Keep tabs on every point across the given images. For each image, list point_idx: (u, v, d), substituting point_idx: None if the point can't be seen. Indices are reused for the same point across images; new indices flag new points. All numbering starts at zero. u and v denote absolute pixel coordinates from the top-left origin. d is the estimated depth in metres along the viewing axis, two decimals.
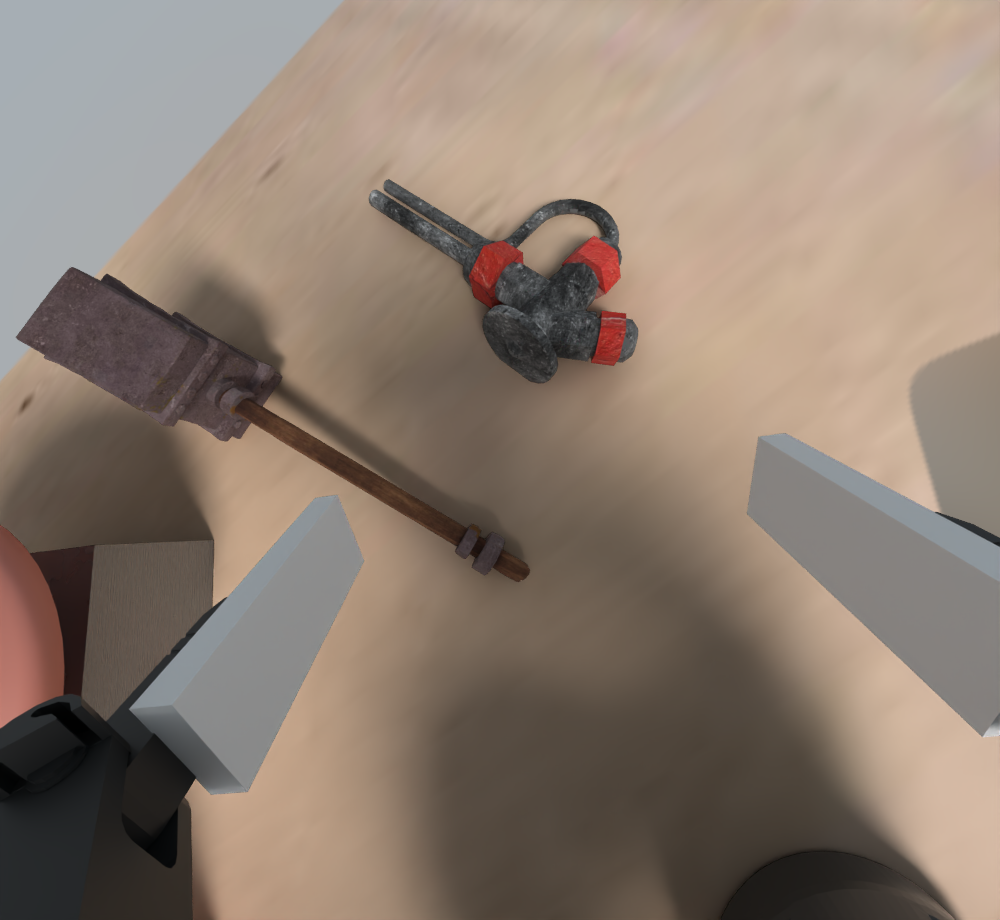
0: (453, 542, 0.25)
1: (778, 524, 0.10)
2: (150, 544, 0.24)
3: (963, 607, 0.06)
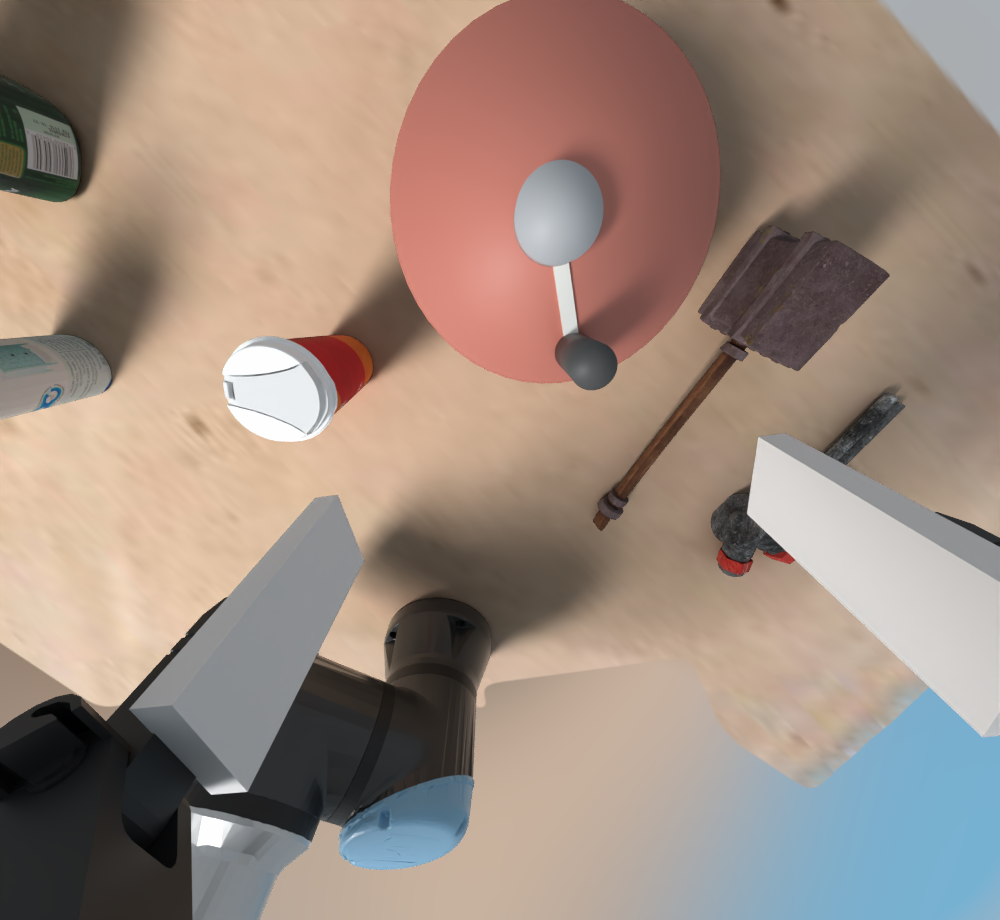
0: (618, 492, 0.43)
1: (778, 524, 0.10)
2: None
3: (963, 607, 0.06)
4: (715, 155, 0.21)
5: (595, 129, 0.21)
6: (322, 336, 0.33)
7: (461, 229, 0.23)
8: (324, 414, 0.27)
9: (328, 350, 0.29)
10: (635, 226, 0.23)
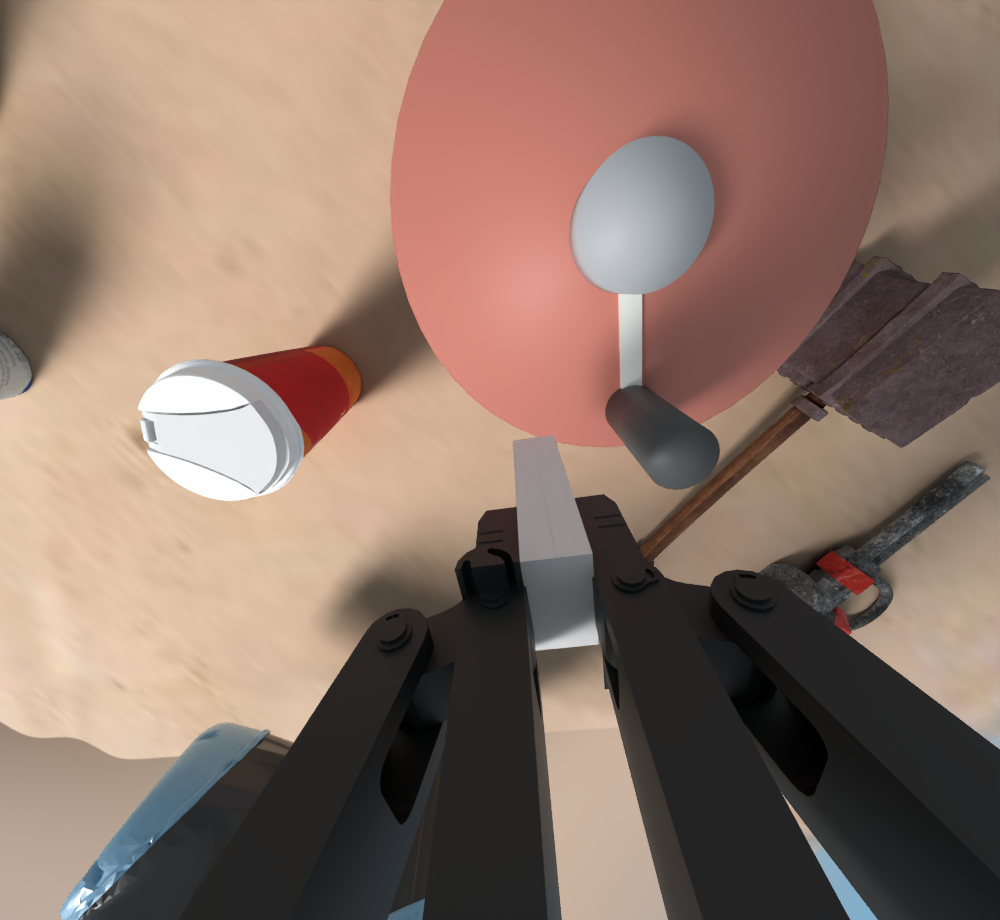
0: (643, 554, 0.36)
1: None
2: None
3: None
4: (879, 150, 0.14)
5: (709, 95, 0.14)
6: (295, 351, 0.25)
7: (492, 230, 0.16)
8: (284, 469, 0.20)
9: (298, 375, 0.22)
10: (743, 245, 0.16)
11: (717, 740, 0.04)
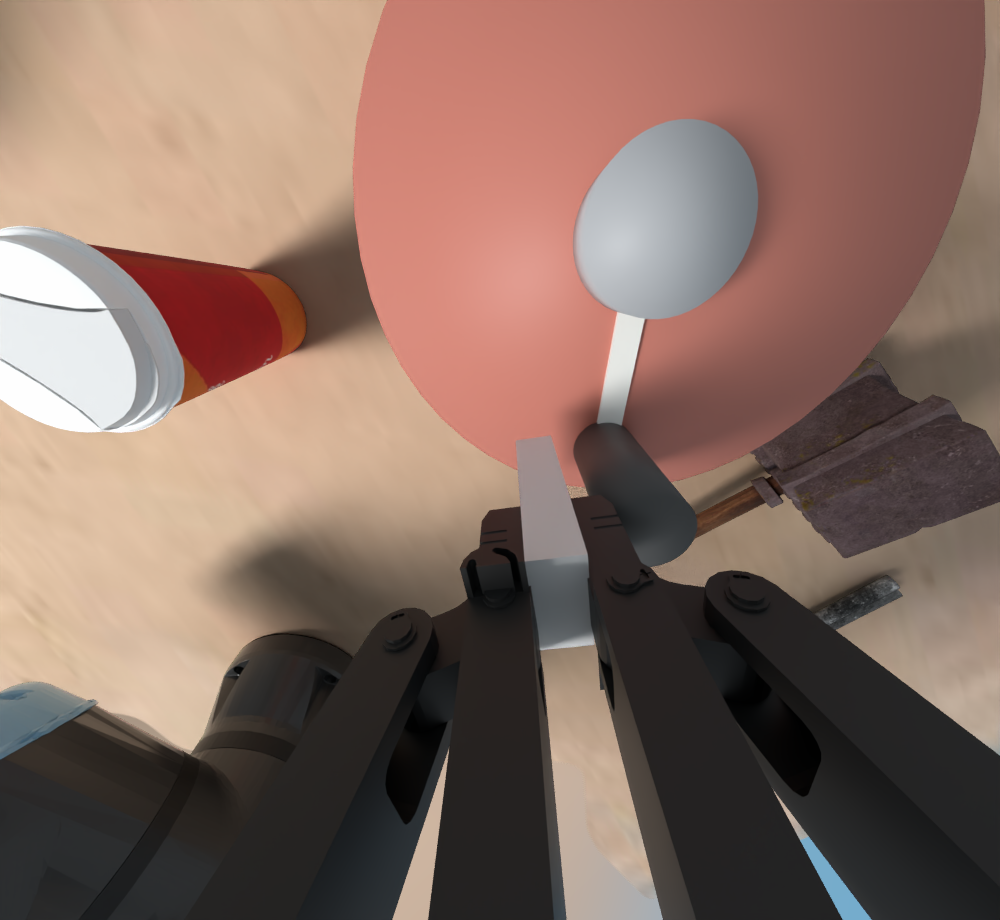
0: None
1: None
2: None
3: None
4: (942, 218, 0.12)
5: (776, 95, 0.11)
6: (222, 267, 0.20)
7: (482, 194, 0.12)
8: (147, 407, 0.15)
9: (208, 295, 0.17)
10: (770, 291, 0.13)
11: (711, 740, 0.04)
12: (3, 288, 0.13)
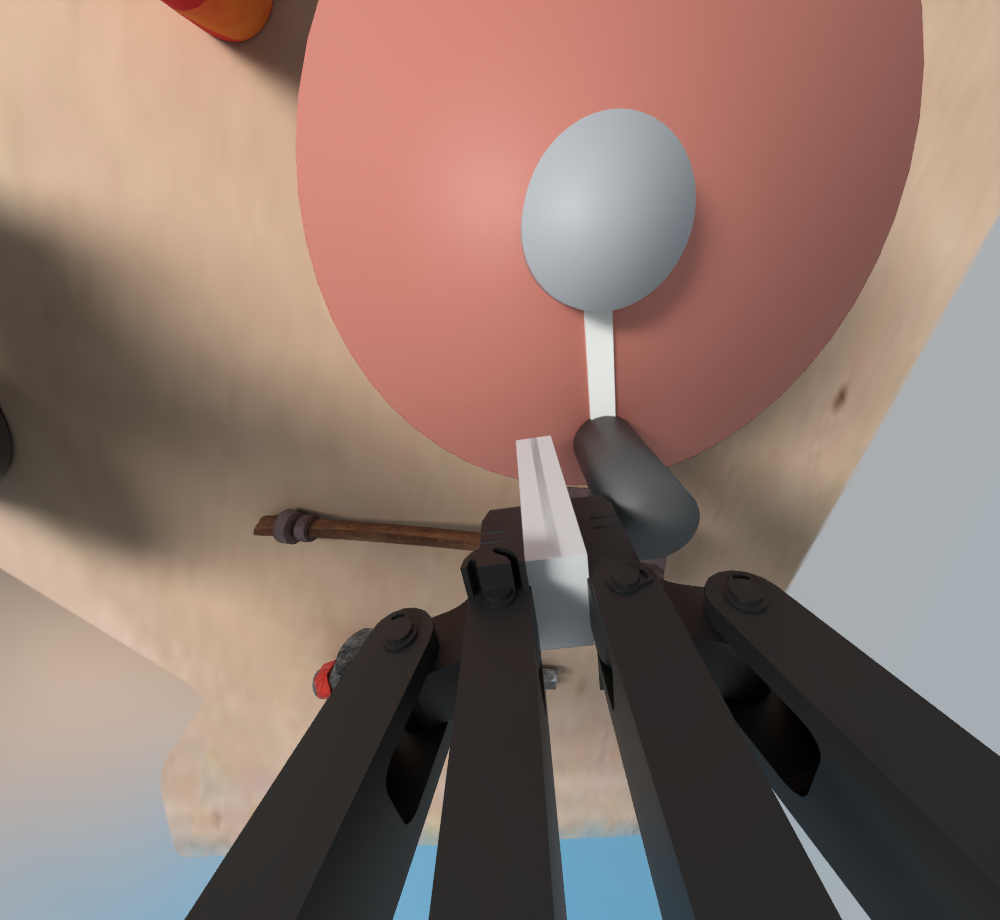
0: (313, 526, 0.31)
1: None
2: None
3: None
4: (909, 128, 0.11)
5: (691, 57, 0.11)
6: None
7: (426, 231, 0.13)
8: None
9: None
10: (737, 249, 0.13)
11: (710, 740, 0.04)
12: None
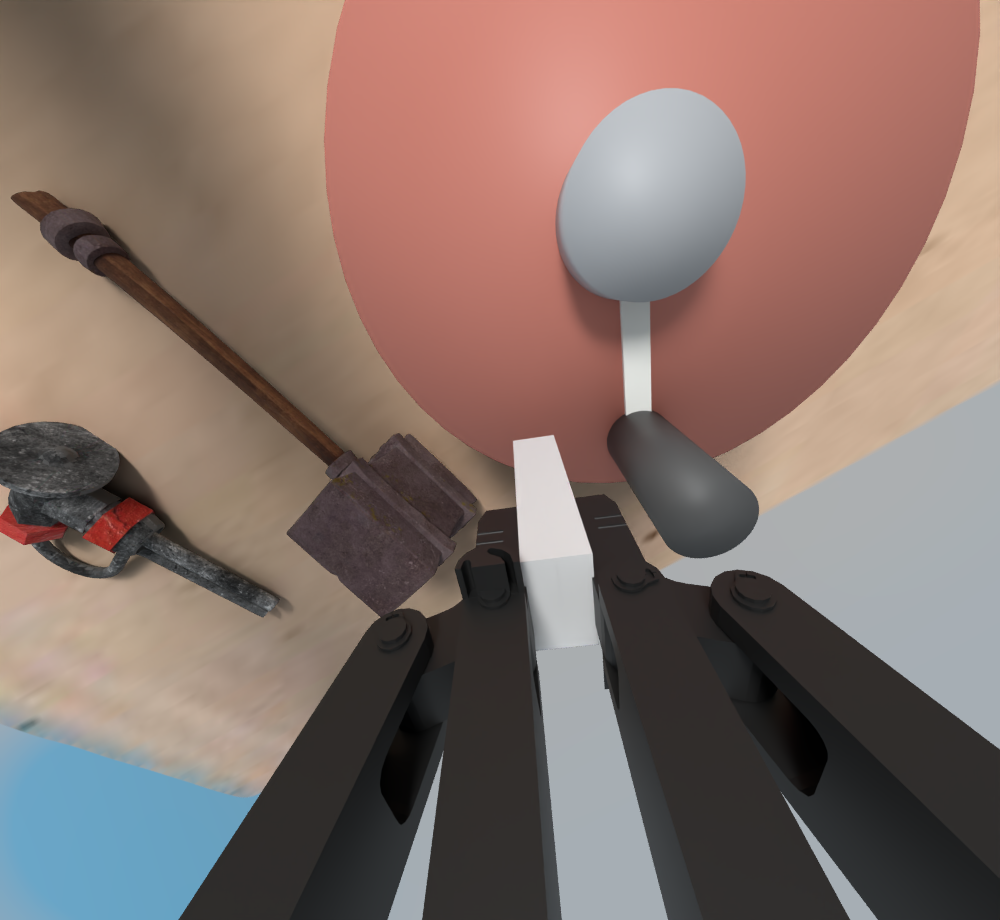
0: (111, 258, 0.22)
1: None
2: None
3: None
4: (963, 101, 0.11)
5: (736, 34, 0.10)
6: None
7: (458, 225, 0.12)
8: None
9: None
10: (780, 234, 0.12)
11: (717, 740, 0.04)
12: None
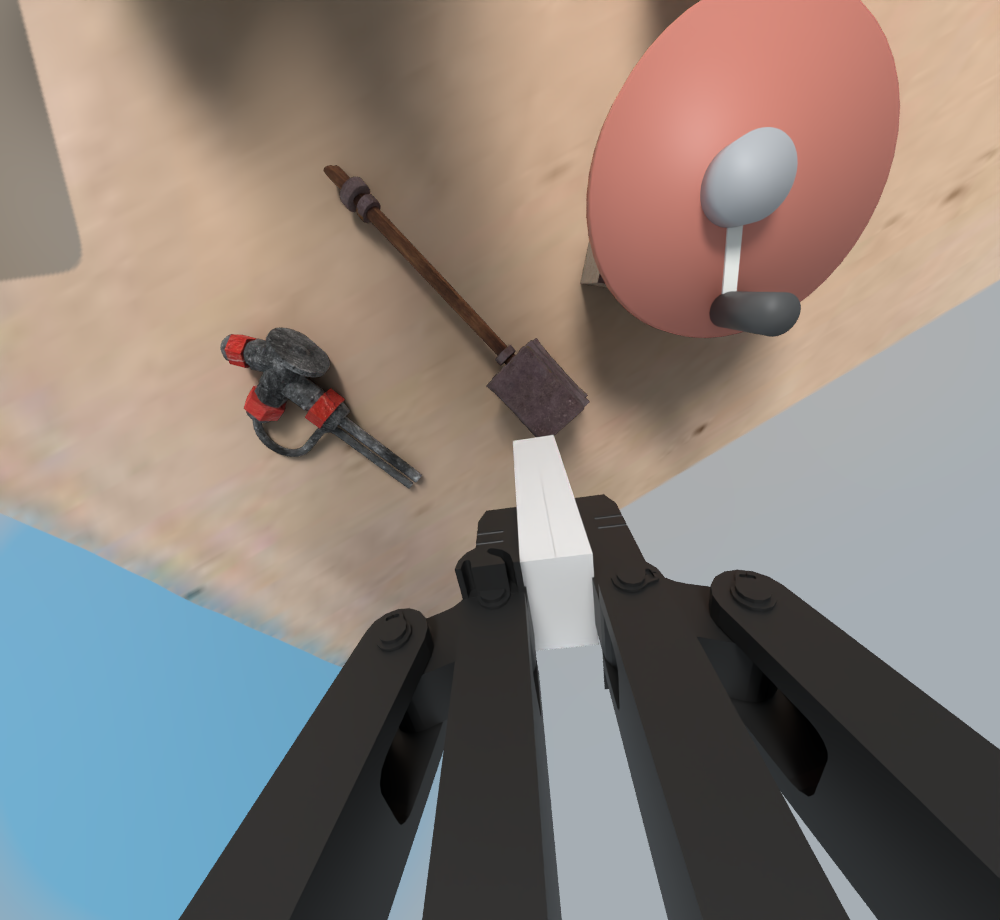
0: (376, 209, 0.35)
1: None
2: (590, 281, 0.35)
3: None
4: (893, 135, 0.24)
5: (793, 103, 0.24)
6: None
7: (653, 186, 0.25)
8: None
9: None
10: (808, 195, 0.26)
11: (717, 740, 0.04)
12: None
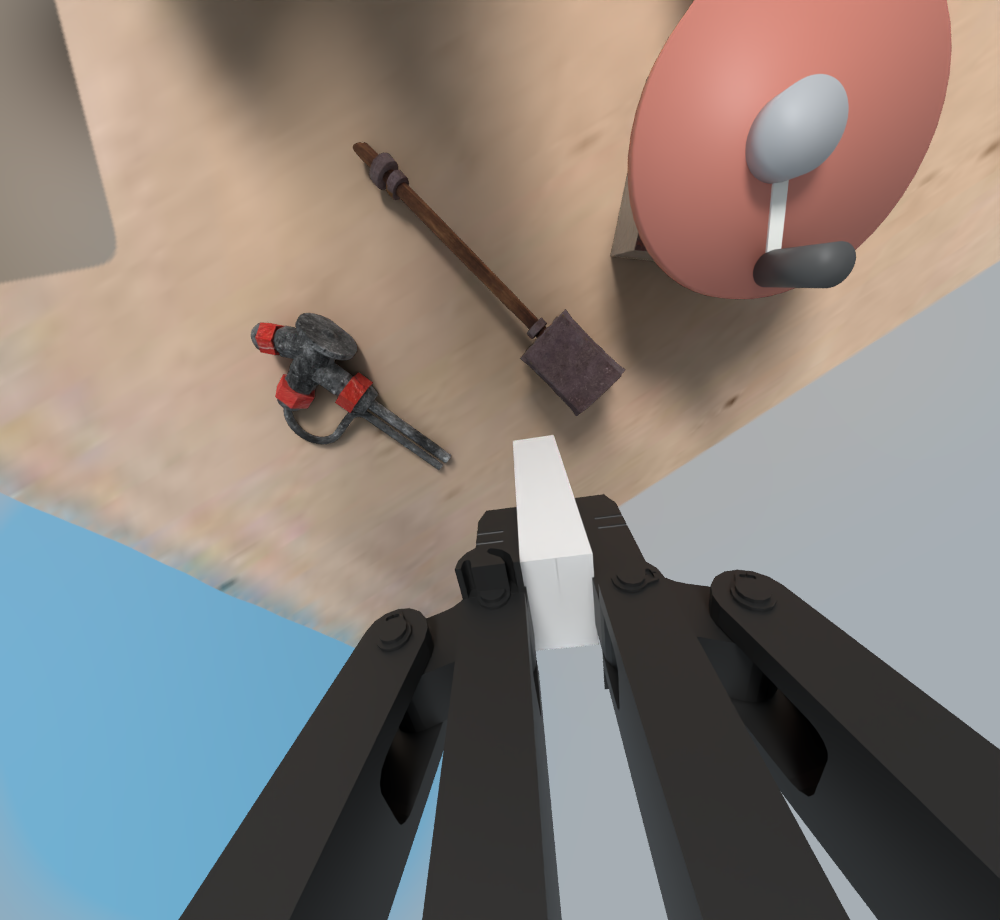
0: (405, 185, 0.35)
1: None
2: (624, 251, 0.35)
3: None
4: (944, 79, 0.24)
5: (842, 50, 0.23)
6: None
7: (698, 144, 0.25)
8: None
9: None
10: (856, 146, 0.25)
11: (717, 740, 0.04)
12: None
